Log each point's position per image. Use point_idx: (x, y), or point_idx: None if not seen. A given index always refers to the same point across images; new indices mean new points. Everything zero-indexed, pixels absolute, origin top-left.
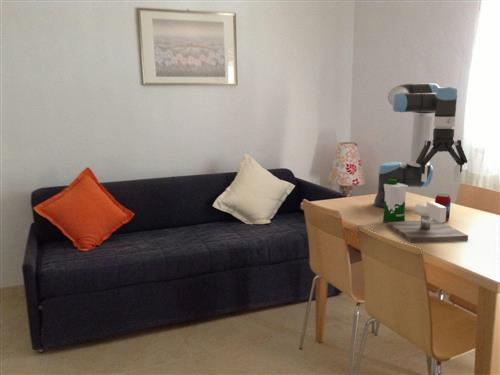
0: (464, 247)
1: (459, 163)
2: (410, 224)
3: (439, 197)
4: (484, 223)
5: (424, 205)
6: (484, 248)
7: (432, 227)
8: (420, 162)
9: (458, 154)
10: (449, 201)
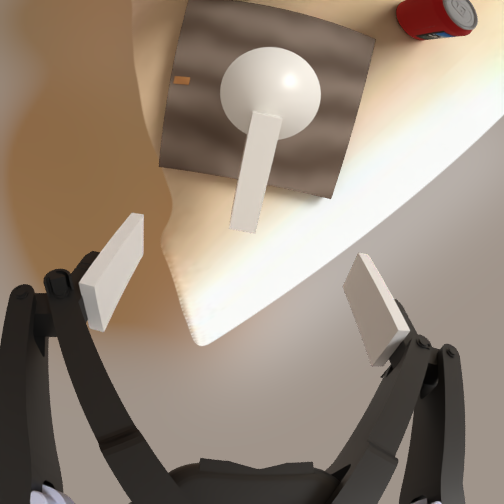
0: (273, 232)
1: (389, 368)
2: (248, 39)
3: (440, 6)
4: (474, 112)
5: (265, 84)
6: (311, 252)
7: None
8: (38, 338)
9: (445, 400)
10: (457, 35)
